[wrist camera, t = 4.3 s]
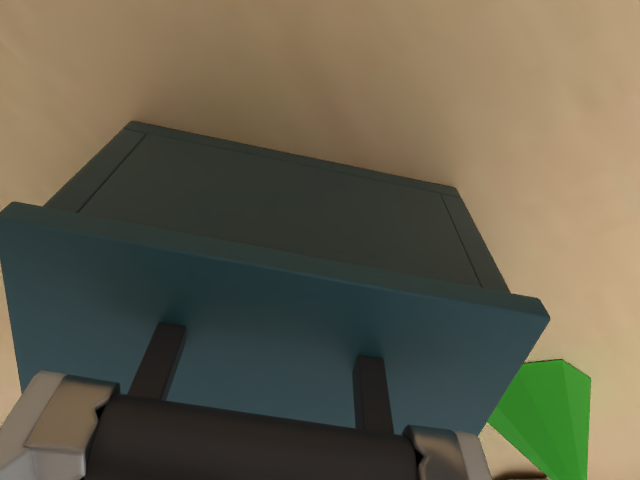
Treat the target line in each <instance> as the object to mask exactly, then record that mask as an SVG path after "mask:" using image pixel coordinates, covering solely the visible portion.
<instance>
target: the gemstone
mask: <svg viewBox="0 0 640 480" xmlns="http://www.w3.org/2000/svg"><path fill="white" fill-rule="evenodd" d="M590 388H591V378H590V377H588V376H587V375H585V374H583V373H582V372H580V371H579V370H577V369H576V368H574V367H573V366H571V365H570V364H568V363H567V362H565V361H564V360H553V361H543V362H534V363H524V364H522V366H521V368H520V369H519V371H518V372H517V374H516V376H515V377H514V379H513V380H512V382H511V384H510V385H509V387H508V388H507V390H506V392H505V393H504V395H503V396H502V398H501V400H500V401H499V403H498V405H497V406H496V408H495V409H494V411H493V413H492V414H491V416H490V417H489V419H488V421H487V422H488V423H489V424H490V425H491V426H492V427H493V428H494V429H496V430H497V431H498V432H499V433H500V434H501V435H502V436H503V437H504V438H505V439H507V440H508V441H509V442H510V443H511V444H512V445H513V446H514V447H515V448H517V449H518V450H519V451H520V452H521V453H522V454H523V455H524V456H525V457H527V458H528V459H529V460H530V461H531V462H532V463H533V464H534V465H535V466H536V467H538V468H539V469H540V470H541V471H542V472H543V473H544V474H545V475H546V476H548V477H549V478H550V479H551V480H587V460H588V436H589V412H590Z"/></svg>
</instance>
